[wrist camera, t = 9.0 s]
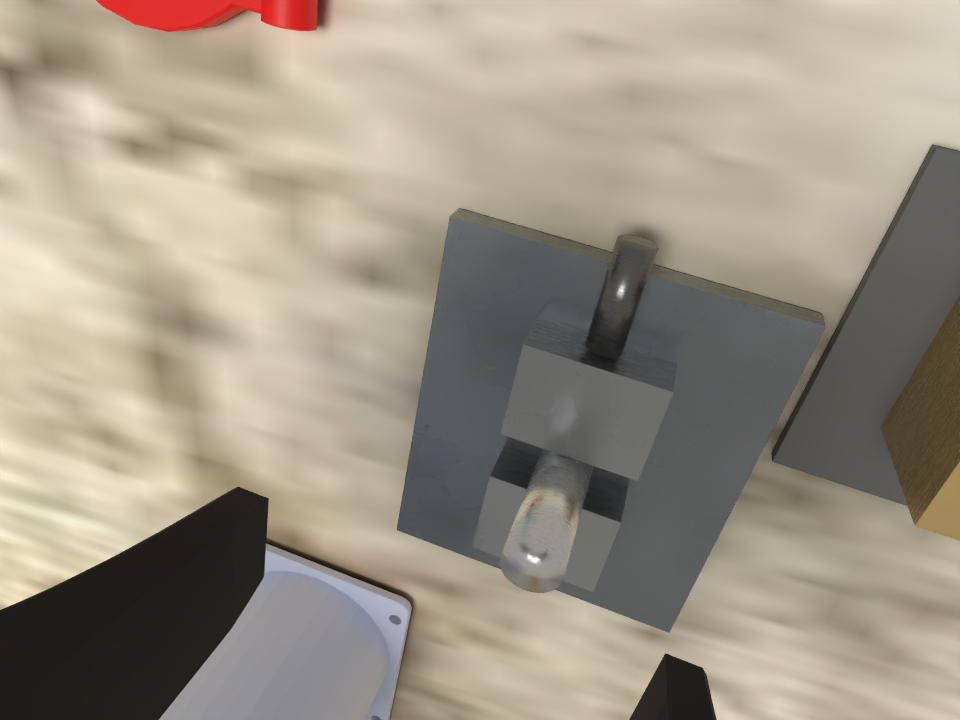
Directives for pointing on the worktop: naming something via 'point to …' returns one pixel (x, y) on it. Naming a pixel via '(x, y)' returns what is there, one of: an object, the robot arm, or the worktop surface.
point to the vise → (591, 413)
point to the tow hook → (213, 12)
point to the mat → (881, 339)
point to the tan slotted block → (930, 433)
